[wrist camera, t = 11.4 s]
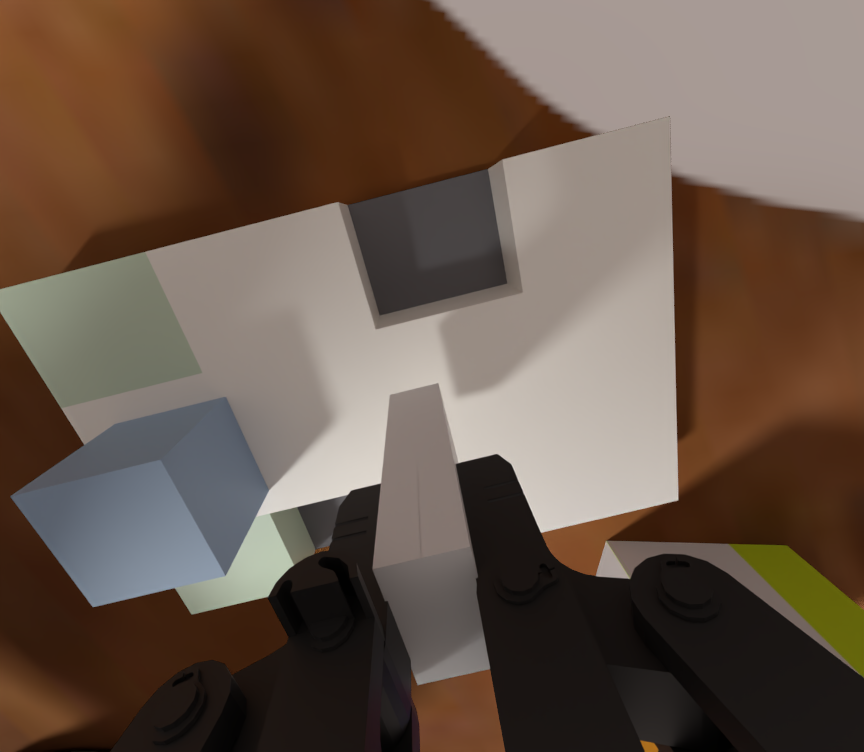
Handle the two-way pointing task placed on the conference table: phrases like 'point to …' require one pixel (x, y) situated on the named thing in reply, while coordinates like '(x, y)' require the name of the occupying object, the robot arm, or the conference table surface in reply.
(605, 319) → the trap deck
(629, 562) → the puzzle toy
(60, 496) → the block
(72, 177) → the conference table surface
